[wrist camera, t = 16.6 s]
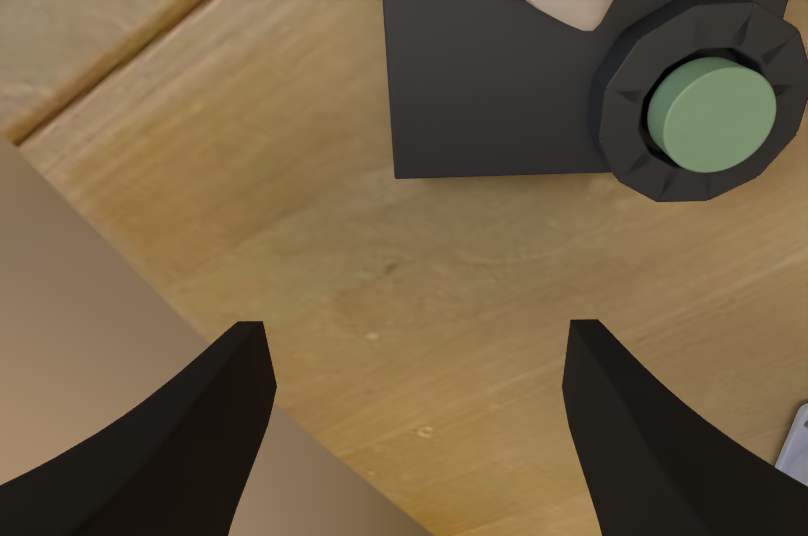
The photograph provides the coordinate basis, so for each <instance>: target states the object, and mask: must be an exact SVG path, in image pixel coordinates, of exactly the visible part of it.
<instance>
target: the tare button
mask: <svg viewBox="0 0 808 536" xmlns="http://www.w3.org/2000/svg"><path fill="white" fill-rule="evenodd" d="M775 116H776V98H775V94H774V91H773V89H772V87H771V85H770V84H769V82H768V81H767V80H766V79H765V78H764V77H763V76H762V75H760V74H759V73H757V72H755V71H753V70H751V69H749V68H746V67H744V66H742V65H740V64H737V63H735V62H733V61H731V60H728V59H725V58H720V57H705V58H699V59H695V60H693V61H690V62H688V63H685V64H683V65H682V66H680V67H678V68H677V69H675V70H674V71H673V72H671V73H670V74H669V75H668V76H667V77H666V78H665V79H664V80H663V81H662V82H661V84H660V85H659V86H658V88H657V89H656V91H655V92H654V94H653V96H652V99H651V101H650V104H649V108H648V114H647V124H648V129H649V132H650V135H651V137H652V139H653V140H654V142H655V143H656V144H657V145H658V146H659V147H660V148H661V149H662V150H663V151H664V152H665V153H666V154H667V155H668V156H669V157H670V158H671V159H672V160H673V161H674V162H675V163H677V164H678V165H679V166H681V167H683V168H685V169H687V170H690V171H694V172H701V173H709V172H717V171H722V170H725V169H728V168H731V167H733V166H735V165H737V164H739V163H741V162H742V161H744V160H745V159H747V158H748V157H749V156H751V155H752V154H753V153H754V152H755V151H756V150H757V149H758V148H759V147H760V146H761V145H762V143H763V142H764V141H765V139H766V138H767V136H768V135H769V133H770V131H771V129H772V126H773V123H774V120H775Z"/></svg>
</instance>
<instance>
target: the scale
mask: <svg viewBox="0 0 808 536" xmlns="http://www.w3.org/2000/svg"><path fill="white" fill-rule="evenodd" d="M787 2H788V0H613V1H612V3H611V5H610V7H609V8H608V10H607V12H606V14H605V16H604V18H603V19H602V21H601V23H600V24H599V25H598V26H597V27H596V28H595V29H594V30H593V31H583V30H580V29H578V28H575V27H573V26H570V25H568V24H566V23H564V22H562V21H560V20H558V19H556V18H554V17H552V16H550V15H548V14H546V13H544V12H542V11H541V10H539V9H537V8H536V7H534V6H533V5H531V4H530V3H528V2H527V1H526V0H383V11H384V26H385V41H386V56H387V71H388V86H389V101H390V115H391V130H392V145H393V160H394V175H395V179H410V178H442V177H474V176H506V175H538V174H570V173H603V172H612V173H613V174H614V176H615V177H616V178H617V179H618V181H619V182H621V183H623V184H624V185H626V186H628V187H630V188H632V189H634V190H635V191H637V192H639V193H641V194H643V195H645V196H647V197H648V198H650V199H652V200H654V201H656V202H680V201H707V200H710V199H712V198H714V197H717V196H719V195H721V194H723V193H725V192H727V191H729V190H731V189H733V188H735V187H737V186H739V185H742V184H744V183H746V182H748V181H750V180H752V179H754V178H756V177H757V176H759V175H760V174H761V173H762V172H763V171H764V170H765V169H766V168H767V166H768V165H769V164H770V163H771V162H772V161H773V160H774V159H775V158H776V157H777V155H778V154H779V153H780V152H781V151H782V150H783V149H784V148H785V147H786V146H787V144H788V143H789V142H790V141H791V140H792V139H793V138H794V137H795V136H796V132H797V131H798V129H799V126H800V123H801V119H802V116H803V113H804V110H805V106H806V103H807V100H808V59H807V56H806V52H805V49H804V45H803V42H802V38H801V35H800V32H799V31H798V29H797V28H796V27H794V26H793V25H791V24H790V23H788V22H787V21H785V20H784V19H783V17H784V13H785V9H786V5H787ZM705 57H720V58H725V59H728V60H731V61H733V62H735V63H737V64H740V65H742V66H744V67H746V68H749V69H751V70H753V71H755V72H757V73H759V74H760V75H762V76H763V77H764V78H765V79H766V80H767V81H768V82H769V84H770V85H771V87H772V89H773V91H774V94H775V98H776V116H775V120H774V123H773V126H772V129H771V131H770V133H769V135H768V136H767V138H766V139H765V141H764V142H763V143H762V145H761V146H760V147H759V148H758V149H757V150H756V151H755V152H754V153H753V154H752V155H751V156H749V157H748V158H747V159H745V160H744V161H742V162H741V163H739V164H737V165H735V166H733V167H731V168H728V169H725V170H722V171H717V172H709V173H701V172H694V171H690V170H687V169H685V168H683V167H681V166H679V165H678V164H677V163H675V162H674V161H673V160H672V159H671V158H670V157H669V156H668V155H667V154H666V153H665V152H664V151H663V150H662V149H661V148H660V147H659V146H658V145H657V144H656V143H655V142H654V140H653V139H652V137H651V135H650V132H649V129H648V124H647V114H648V108H649V104H650V101H651V99H652V96H653V94H654V92H655V91H656V89H657V88H658V86H659V85H660V84H661V82H662V81H663V80H664V79H665V78H666V77H667V76H668V75H669V74H670V73H671V72H673V71H674V70H675V69H677V68H678V67H680V66H682V65H683V64H685V63H688V62H690V61H693V60H695V59H699V58H705Z"/></svg>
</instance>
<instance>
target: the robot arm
mask: <svg viewBox="0 0 808 536" xmlns="http://www.w3.org/2000/svg"><path fill="white" fill-rule="evenodd" d="M276 388H277V384H276V380H275V375H274V371H273V366H272V361H271V357H270V352H269V348H268V343H267V338H266V334H265V329H264V325H263V321H238V322H237V323H235V324H234V325H233V326H232V327H231V328H229V329H228V330H227V331H226V332H225V333H224V334H223V335H221V336H220V337H219V338H218V339H217V340H216V341H215V342H214V343H213V344H211V345H210V346H209V347H208V348H207V349H206V350H205V351H204V352H203V353H201V354H200V355H199V356H198V357H197V358H196V359H194V360H193V361H192V362H191V363H190V364H189V365H188V366H187V367H185V368H184V369H183V370H182V371H181V372H179V373H178V374H177V375H176V376H175V377H173V378H172V379H171V380H170V381H168V382H167V383H166V384H165V385H163V386H162V387H161V388H159V389H158V390H157V391H156V392H155V393H153V394H152V395H151V396H149V397H148V398H147V399H146V400H144V401H143V402H142V403H140V404H139V405H138V406H136V407H135V408H133V409H132V410H131V411H129V412H128V413H126V414H125V415H124V416H122V417H121V418H119V419H118V420H116V421H115V422H113V423H112V424H110V425H109V426H107V427H106V428H104V429H103V430H101V431H99V432H98V433H96V434H95V435H93V436H91V437H90V438H88V439H86V440H84V441H83V442H81V443H79V444H78V445H76V446H74V447H73V448H71V449H69V450H67V451H66V452H64V453H62V454H60V455H59V456H57V457H55V458H53V459H52V460H50V461H48V462H46V463H44V464H42V465H41V466H38V467H36V468H35V469H33V470H31V471H29V472H27V473H25V474H23V475H21V476H19V477H17V478H14V479H12V480H10V481H8V482H6V483H4V484H3V485H0V536H228V534H229V530H230V526H231V523H232V520H233V517H234V514H235V511H236V508H237V506H238V503H239V500H240V498H241V495H242V492H243V490H244V487H245V485H246V482H247V479H248V477H249V474H250V471H251V469H252V466H253V464H254V461H255V458H256V456H257V453H258V450H259V448H260V445H261V442H262V440H263V437H264V434H265V431H266V428H267V426H268V423H269V418H270V415H271V410H272V406H273V402H274V397H275V393H276ZM562 390H563V396H564V402H565V408H566V413H567V419H568V424H569V428H570V431H571V435H572V438H573V441H574V444H575V448H576V451H577V454H578V457H579V461H580V464H581V467H582V470H583V473H584V476H585V479H586V483H587V486H588V489H589V492H590V495H591V498H592V501H593V505H594V508H595V511H596V514H597V518H598V521H599V525H600V529H601V532H602V536H808V403H807V404H804V405H803V406H801V407H800V408H799V410H798V412H797V414H796V417H795V419H794V422H793V424H792V426H791V429H790V431H789V434H788V436H787V438H786V441H785V443H784V445H783V448H782V450H781V453H780V455H779V457H778V460H777V462H776V465H775V467H774V466H772V465H771V464H769V463H767V462H766V461H764V460H763V459H761V458H760V457H758V456H756V455H755V454H753V453H752V452H750V451H748V450H747V449H745V448H744V447H742V446H741V445H739V444H738V443H737V442H735V441H734V440H732V439H731V438H729V437H728V436H727V435H725V434H724V433H722V432H721V431H720V430H718V429H717V428H716V427H714V426H713V425H712V424H710V423H709V422H707V421H706V420H705V419H703V418H702V417H701V416H700V415H698V414H697V413H696V412H695V411H693V410H692V409H691V408H690V407H688V406H687V405H686V404H685V403H684V402H683V401H681V400H680V399H679V398H678V397H677V396H675V395H674V394H673V393H672V392H671V391H670V390H668V389H667V388H666V387H665V386H664V385H663V384H662V383H661V382H660V381H659V380H657V379H656V378H655V377H654V376H653V375H652V374H651V373H650V372H649V371H648V370H647V369H646V368H645V367H644V366H643V365H642V364H641V363H640V362H639V361H638V360H637V359H636V358H635V357H634V356H633V355H632V354H631V353H630V352H629V351H628V350H627V349H626V348H625V347H624V346H623V345H622V344H621V343H620V342H619V341H618V340H617V339H616V338H615V337H614V335H613V334H612V333H611V332H610V331H609V330H608V329H607V328H606V327H605V326H604V325H603V324H602V323H601V322H600V321H599V320H598V319H586V320H571V321H570V328H569V336H568V344H567V352H566V359H565V367H564V375H563V383H562Z"/></svg>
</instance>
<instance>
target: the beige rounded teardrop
mask: <svg viewBox="0 0 808 536" xmlns="http://www.w3.org/2000/svg"><path fill="white" fill-rule="evenodd" d="M526 1H527V2H528V3H530V4H531V5H533V6H534V7H536V8H537V9H539V10H541V11H542V12H544V13H546V14H548V15H550V16H552V17H554V18H556V19H558V20H560V21H562V22H564V23H566V24H568V25H570V26H573V27H575V28H578V29H580V30H583V31H593V30H594V29H595V28H596V27H597V26H598V25H599V24H600V23H601V21H602V19H603V18H604V16H605V14H606V12H607V10H608V8H609V7H610V5H611V3H612V1H613V0H526Z"/></svg>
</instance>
